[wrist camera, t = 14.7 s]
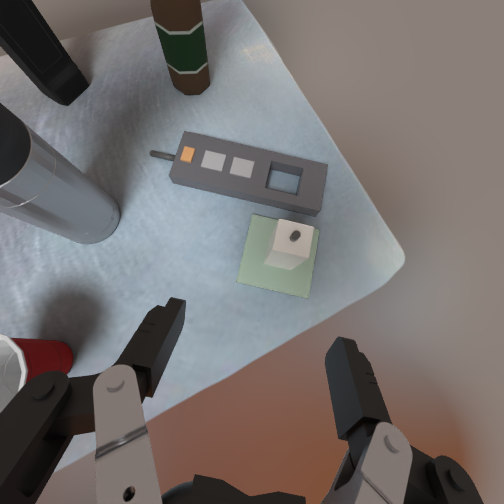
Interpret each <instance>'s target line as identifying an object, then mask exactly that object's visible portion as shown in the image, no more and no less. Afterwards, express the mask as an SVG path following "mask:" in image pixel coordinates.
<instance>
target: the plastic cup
mask: <svg viewBox="0 0 504 504" xmlns="http://www.w3.org/2000/svg"><path fill="white" fill-rule="evenodd" d="M72 363H73V354H72V351H71V349H70V347H69V346H68V345H67V344H65V343H62V342H60V341H56V340H42V339H22V338H10V337H8V336H5V335H2V334H0V413H1V412H2V410H3V409H4V408H5V407H6V406H7V405H8V403H9V402H10V401H11V400H12V399H13V397H14V396H15V395H16V394H17V393H18V392H19V390H20V389H21V388H22V387H23V386H24V385H25V384H26V383H27V382H28V381H29V380H31V379H32V378H34V377H35V376H37V375H39V374H41V373H44V372H48V371H62V372H64V373H65V374H67V373H68V372H69V370H70V368H71V366H72Z"/></svg>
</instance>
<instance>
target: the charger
mask: <svg viewBox="0 0 504 504" xmlns="http://www.w3.org/2000/svg"><path fill="white" fill-rule="evenodd" d="M313 230H314V227H313V226H309V225H305V224H300V223H296V222H292V221H288V220H283V219H279V220H278V222H277V224H276V226H275V228H274V230H273V232H272V234H271V237H270V239H269V241H268V246H267V251H266V255H265V260H264V264H266V265H270V266H274V267H279V268H283V269H287V270H292V269H293V268H295V267H296V266H298V265H299V264H301V263H302V262H304V261H305V260H307V259H308V258H309V254H310V248H311V242H312V236H313Z"/></svg>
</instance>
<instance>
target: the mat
mask: <svg viewBox="0 0 504 504" xmlns="http://www.w3.org/2000/svg"><path fill="white" fill-rule="evenodd" d="M277 222H278V220H276V219H271V218H267V217H263V216H258V215H254V214H252V218H251V222H250V226H249V230H248V234H247V238H246V243H245V247H244V251H243V255H242V259H241V263H240V267H239V272H238V276H237V280H236V282H238V283H242V284H247V285H251V286H255V287H260V288H264V289H268V290H273V291H277V292H281V293H286V294H290V295H294V296H299V297H303V298H307V299H308V298H309V292H310V286H311V280H312V274H313V268H314V261H315V255H316V249H317V243H318V237H319V230H318V229H314V230H313V236H312V242H311V248H310V254H309V258H308V259H307V260H305V261H304V262H302V263H301V264H299V265H298V266H296V267H295V268H293V269H292V270H287V269H283V268H279V267H274V266H270V265H266V264H264V260H265V255H266V251H267V246H268V241H269V239H270V237H271V234H272V232H273V230H274V228H275V226H276V224H277Z"/></svg>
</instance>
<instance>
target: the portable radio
mask: <svg viewBox="0 0 504 504" xmlns="http://www.w3.org/2000/svg"><path fill="white" fill-rule="evenodd" d="M0 46H1V47H2V48H3V49H4V51H6V53H7V54H8V55H9V56H10V57H11V58H12V59H13V61H14V62H15V63H16V64H17V65H18V66H19V67H20V68H21V69H22V70H23V72H24V73H25V74H26V75H27V76H28V77H29V78H30V79H31V81H32V82H33V83H34V84H35V85H36V86H37V87H38V88H39V90H40V91H41V92H42V93H43V94H45V95H46V96H48V97H49V98H51V99H52V100H54V101H55V102H57V103H59V104H61V105H66V106H67V105H69V104H70V103H71V102H72V101H73V100H74V99H75V98H77V97H78V96H79V95H80V94H81V93H82V92H83V91H84V90H85V89H86V88H87V87H88V86H89V84H88V82H87V81H86V79H85V78H84V76H83V75H82V73H81V72H80V70H79V69H78V67H77V65H76V64H75V63H74V62H73V61H72V59H71V58H70V56H69V55H68V53H67V52H66V50H65V49H64V47H63V46H62V45H61V43H60V42H59V40H58V39H57V37H56V36H55V34H54V33H53V31H52V30H51V29H50V27H49V25H48V24H47V22H46V21H45V19H44V18H43V16H42V15H41V14H40V12H39V11H38V9H37V7H36V6H35V5H34V3H33V2H32V0H0Z"/></svg>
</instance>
